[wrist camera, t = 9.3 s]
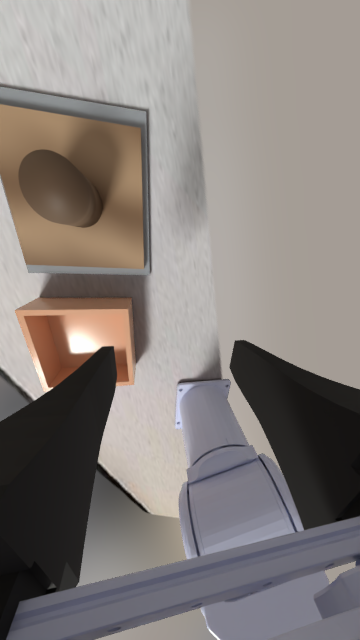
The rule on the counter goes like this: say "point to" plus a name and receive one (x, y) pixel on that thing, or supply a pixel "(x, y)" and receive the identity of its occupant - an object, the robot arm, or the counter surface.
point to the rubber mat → (100, 114)
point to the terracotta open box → (77, 335)
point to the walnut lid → (73, 188)
